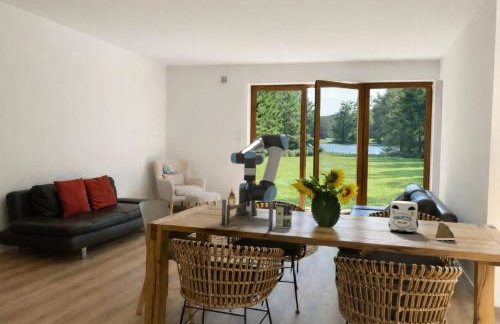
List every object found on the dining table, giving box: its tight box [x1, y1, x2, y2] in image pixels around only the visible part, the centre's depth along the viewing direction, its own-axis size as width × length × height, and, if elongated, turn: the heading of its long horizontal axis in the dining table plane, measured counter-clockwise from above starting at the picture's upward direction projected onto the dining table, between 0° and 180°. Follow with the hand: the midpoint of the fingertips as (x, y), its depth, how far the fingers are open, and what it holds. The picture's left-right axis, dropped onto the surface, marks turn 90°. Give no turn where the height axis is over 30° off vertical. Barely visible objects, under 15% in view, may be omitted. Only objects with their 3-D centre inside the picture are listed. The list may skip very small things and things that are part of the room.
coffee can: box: [274, 202, 293, 229], centre depth 263 cm, size 10×10×14 cm
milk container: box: [387, 200, 419, 233], centre depth 260 cm, size 17×17×18 cm
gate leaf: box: [225, 201, 253, 226], centre depth 269 cm, size 2×26×12 cm, turn 146°
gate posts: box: [221, 199, 274, 231], centre depth 256 cm, size 2×32×16 cm, turn 72°
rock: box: [435, 222, 455, 238], centre depth 238 cm, size 11×9×10 cm
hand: (248, 210), depth 274 cm, fingers closed
